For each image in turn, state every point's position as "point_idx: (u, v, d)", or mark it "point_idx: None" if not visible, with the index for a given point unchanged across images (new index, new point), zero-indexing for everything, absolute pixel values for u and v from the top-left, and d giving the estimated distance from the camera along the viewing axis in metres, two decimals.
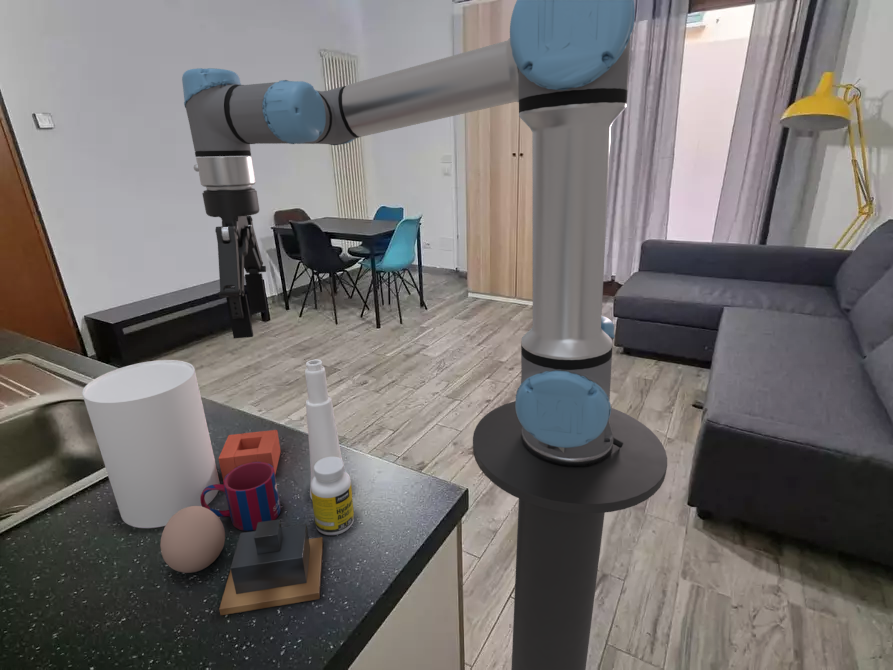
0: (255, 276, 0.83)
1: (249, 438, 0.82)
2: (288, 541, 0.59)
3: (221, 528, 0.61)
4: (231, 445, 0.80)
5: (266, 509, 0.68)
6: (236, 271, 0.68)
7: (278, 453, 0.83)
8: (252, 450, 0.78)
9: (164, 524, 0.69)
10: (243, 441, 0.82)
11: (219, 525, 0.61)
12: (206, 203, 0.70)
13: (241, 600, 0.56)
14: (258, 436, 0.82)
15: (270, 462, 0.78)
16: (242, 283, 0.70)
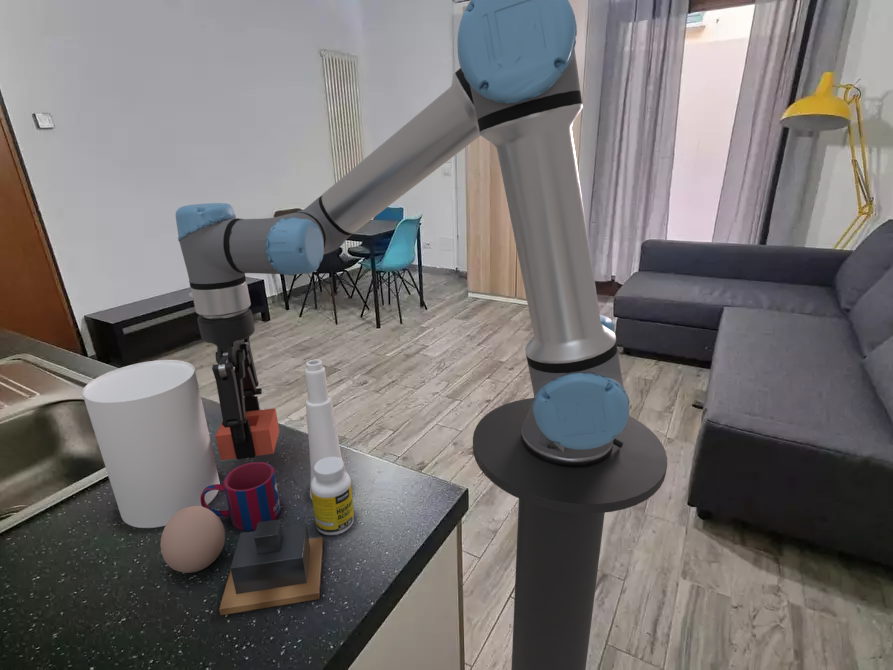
0: (250, 400, 0.81)
1: (247, 416, 0.80)
2: (288, 541, 0.59)
3: (221, 528, 0.61)
4: None
5: (266, 509, 0.68)
6: (237, 406, 0.70)
7: (277, 432, 0.82)
8: (250, 427, 0.77)
9: (164, 524, 0.69)
10: None
11: (219, 525, 0.61)
12: (201, 331, 0.70)
13: (241, 600, 0.56)
14: (256, 414, 0.80)
15: (268, 440, 0.77)
16: (243, 410, 0.73)
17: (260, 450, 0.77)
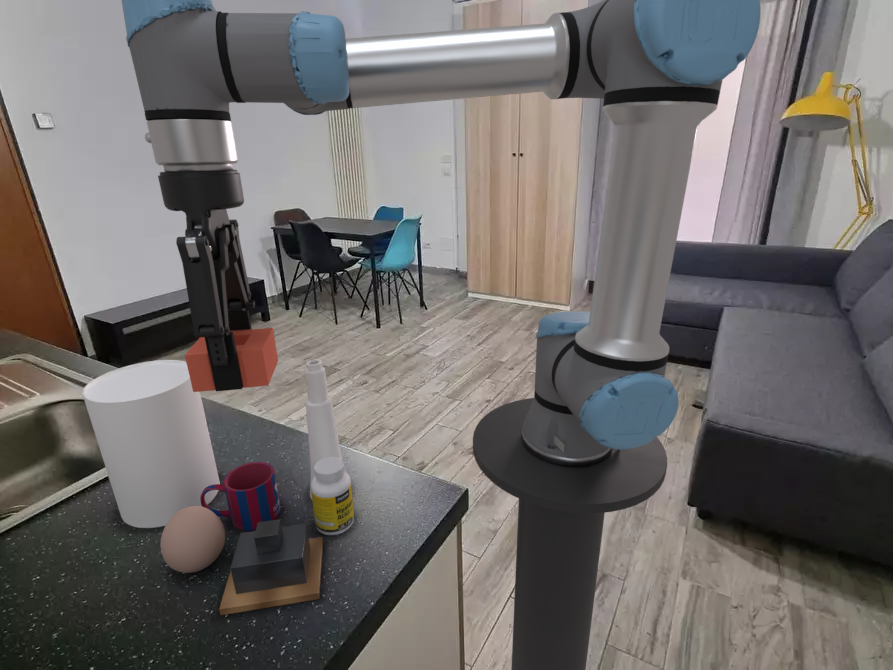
0: (239, 315, 0.58)
1: None
2: (288, 541, 0.59)
3: (221, 528, 0.61)
4: None
5: (266, 509, 0.68)
6: (214, 304, 0.47)
7: (274, 360, 0.59)
8: None
9: (164, 524, 0.69)
10: None
11: (219, 525, 0.61)
12: (163, 191, 0.47)
13: (241, 600, 0.56)
14: (246, 334, 0.57)
15: (261, 365, 0.54)
16: (225, 316, 0.50)
17: (249, 380, 0.54)
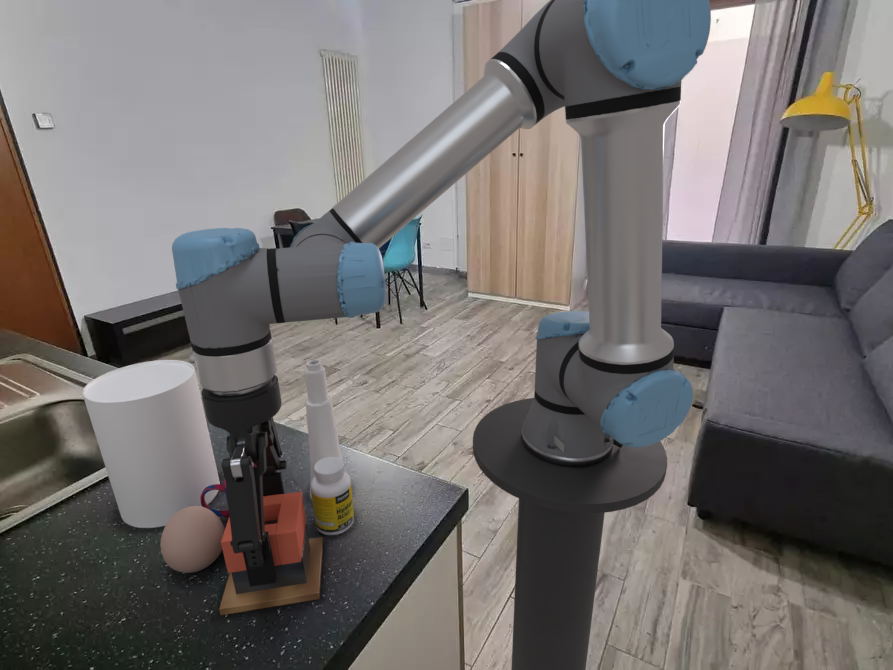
0: (272, 478, 0.61)
1: (264, 506, 0.58)
2: None
3: (221, 528, 0.61)
4: None
5: None
6: (254, 520, 0.48)
7: (303, 525, 0.60)
8: (269, 527, 0.55)
9: (164, 524, 0.69)
10: None
11: (219, 525, 0.61)
12: (207, 411, 0.49)
13: (241, 600, 0.56)
14: (276, 502, 0.59)
15: (294, 545, 0.55)
16: (262, 522, 0.51)
17: (283, 558, 0.55)
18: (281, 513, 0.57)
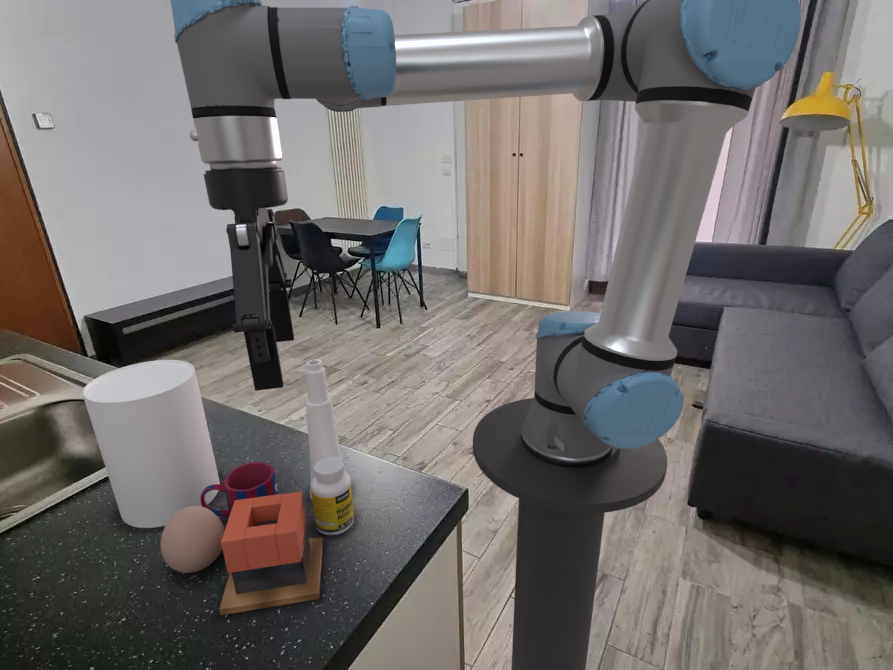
0: (278, 294, 0.59)
1: (264, 506, 0.58)
2: None
3: (221, 528, 0.61)
4: (238, 518, 0.56)
5: None
6: (260, 292, 0.44)
7: (303, 525, 0.60)
8: (269, 527, 0.55)
9: (164, 524, 0.69)
10: (255, 510, 0.58)
11: (219, 525, 0.61)
12: (211, 189, 0.46)
13: (241, 600, 0.56)
14: (276, 502, 0.59)
15: (294, 545, 0.55)
16: (268, 309, 0.47)
17: (283, 558, 0.55)
18: (281, 513, 0.57)
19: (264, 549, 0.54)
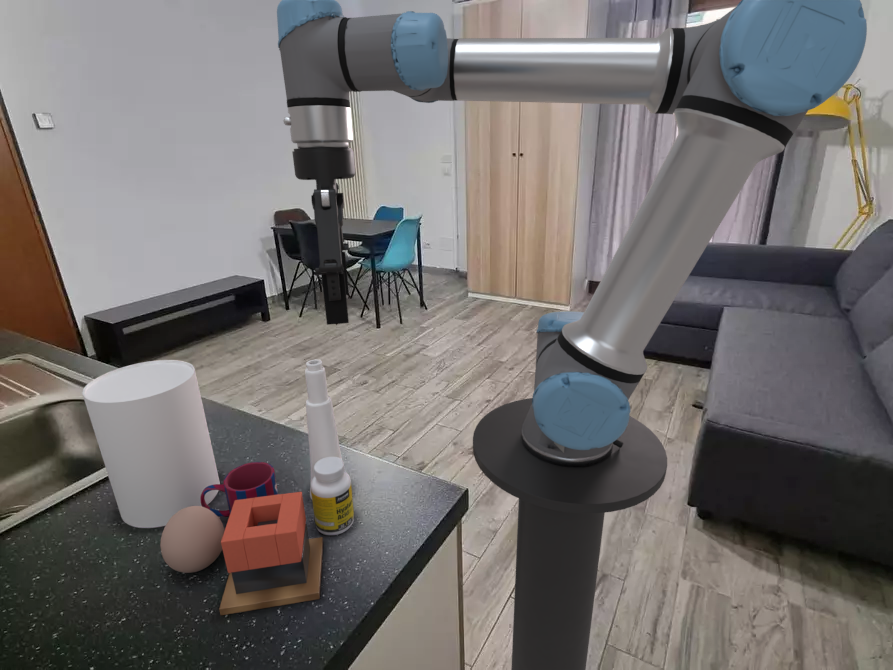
0: None
1: (264, 506, 0.58)
2: None
3: (221, 528, 0.61)
4: (238, 518, 0.56)
5: None
6: (338, 243, 0.57)
7: (303, 525, 0.60)
8: (269, 527, 0.55)
9: (164, 524, 0.69)
10: (255, 510, 0.58)
11: (219, 525, 0.61)
12: (299, 163, 0.59)
13: (241, 600, 0.56)
14: (276, 502, 0.59)
15: (294, 545, 0.55)
16: (341, 258, 0.59)
17: (283, 558, 0.55)
18: (281, 513, 0.57)
19: (264, 549, 0.54)
